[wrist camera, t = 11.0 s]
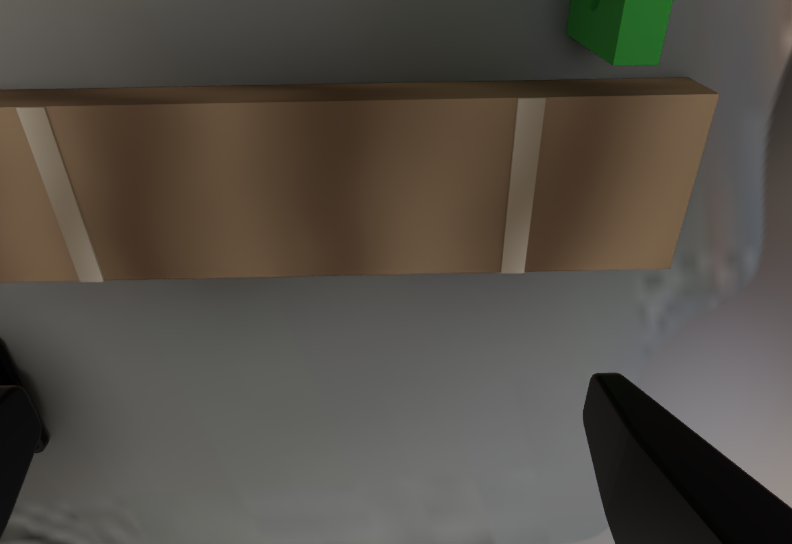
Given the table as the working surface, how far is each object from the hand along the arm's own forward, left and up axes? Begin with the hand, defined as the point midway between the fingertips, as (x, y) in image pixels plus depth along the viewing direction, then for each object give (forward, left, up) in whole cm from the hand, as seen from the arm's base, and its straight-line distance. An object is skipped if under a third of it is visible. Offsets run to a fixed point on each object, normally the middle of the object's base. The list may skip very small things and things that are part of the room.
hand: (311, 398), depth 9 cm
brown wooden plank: (-1, -1, -12) cm, 12 cm away
